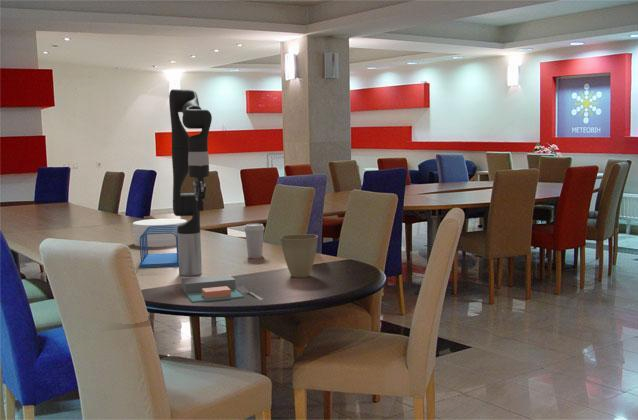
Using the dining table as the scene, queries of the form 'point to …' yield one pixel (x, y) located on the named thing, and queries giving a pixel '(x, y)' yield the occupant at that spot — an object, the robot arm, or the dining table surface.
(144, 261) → the file sorter
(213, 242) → the dining table surface
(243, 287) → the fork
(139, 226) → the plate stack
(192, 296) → the mat
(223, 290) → the tile
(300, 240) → the plant pot
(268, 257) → the dining table surface
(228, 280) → the panel
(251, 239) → the coffee cup
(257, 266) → the dining table surface
